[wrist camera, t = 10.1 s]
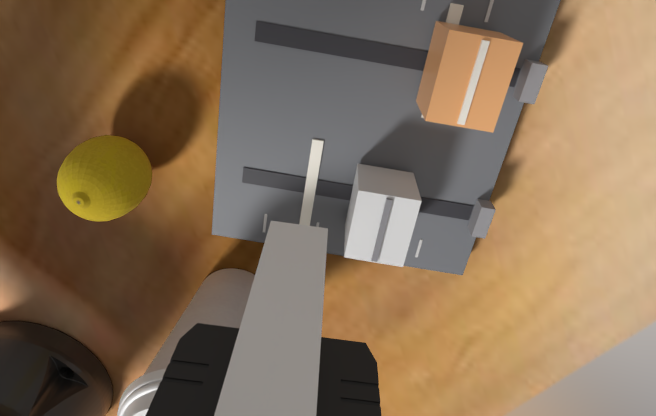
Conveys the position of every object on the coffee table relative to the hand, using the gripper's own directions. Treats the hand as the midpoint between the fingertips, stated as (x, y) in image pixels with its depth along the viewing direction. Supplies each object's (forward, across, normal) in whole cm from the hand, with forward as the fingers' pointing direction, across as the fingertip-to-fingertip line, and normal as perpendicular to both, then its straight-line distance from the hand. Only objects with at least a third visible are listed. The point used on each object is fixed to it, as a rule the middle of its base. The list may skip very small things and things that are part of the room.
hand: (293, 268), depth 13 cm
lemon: (+24, -14, -8) cm, 28 cm away
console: (+23, +3, -2) cm, 23 cm away
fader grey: (+21, +5, -7) cm, 23 cm away
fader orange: (+21, +8, +3) cm, 23 cm away
